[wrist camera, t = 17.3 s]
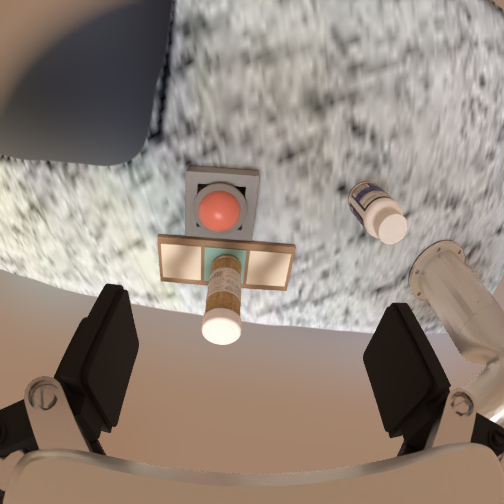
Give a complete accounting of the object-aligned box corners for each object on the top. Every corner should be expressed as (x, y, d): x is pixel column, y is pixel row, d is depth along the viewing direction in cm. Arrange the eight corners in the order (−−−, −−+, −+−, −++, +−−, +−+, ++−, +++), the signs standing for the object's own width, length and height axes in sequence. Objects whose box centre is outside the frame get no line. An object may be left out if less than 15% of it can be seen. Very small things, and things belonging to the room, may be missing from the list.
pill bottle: (377, 216, 41) (406, 250, 33) (344, 214, 41) (368, 249, 33) (384, 182, 38) (417, 210, 30) (350, 178, 38) (378, 207, 30)
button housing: (258, 170, 38) (259, 176, 35) (251, 231, 42) (252, 240, 40) (189, 165, 37) (186, 171, 35) (188, 227, 42) (185, 235, 39)
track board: (294, 244, 44) (295, 248, 43) (285, 287, 48) (286, 291, 47) (158, 234, 42) (157, 237, 41) (161, 278, 46) (160, 281, 45)
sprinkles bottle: (218, 282, 46) (211, 349, 34) (206, 258, 43) (193, 324, 32) (246, 273, 45) (247, 341, 33) (235, 249, 43) (231, 314, 31)
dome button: (249, 179, 38) (250, 194, 33) (244, 226, 41) (244, 247, 36) (196, 175, 37) (189, 190, 32) (195, 222, 41) (188, 242, 36)
